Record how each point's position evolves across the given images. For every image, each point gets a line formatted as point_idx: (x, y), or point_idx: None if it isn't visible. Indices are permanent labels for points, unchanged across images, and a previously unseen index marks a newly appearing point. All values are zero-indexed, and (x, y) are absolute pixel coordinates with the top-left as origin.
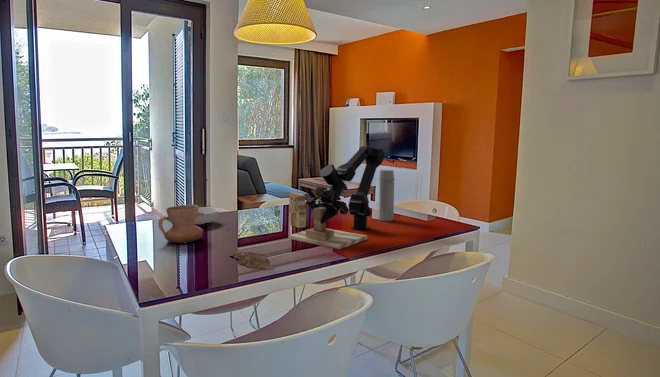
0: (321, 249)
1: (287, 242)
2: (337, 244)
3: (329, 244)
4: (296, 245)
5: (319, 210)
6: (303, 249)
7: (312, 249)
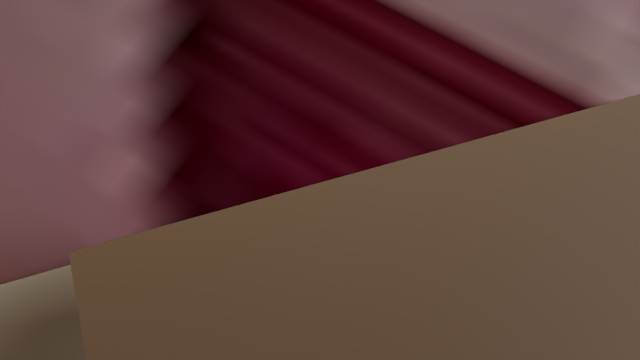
0: (21, 156)
1: (510, 13)
2: None
3: (3, 286)
4: (341, 27)
5: (165, 248)
6: (158, 7)
7: (93, 78)
